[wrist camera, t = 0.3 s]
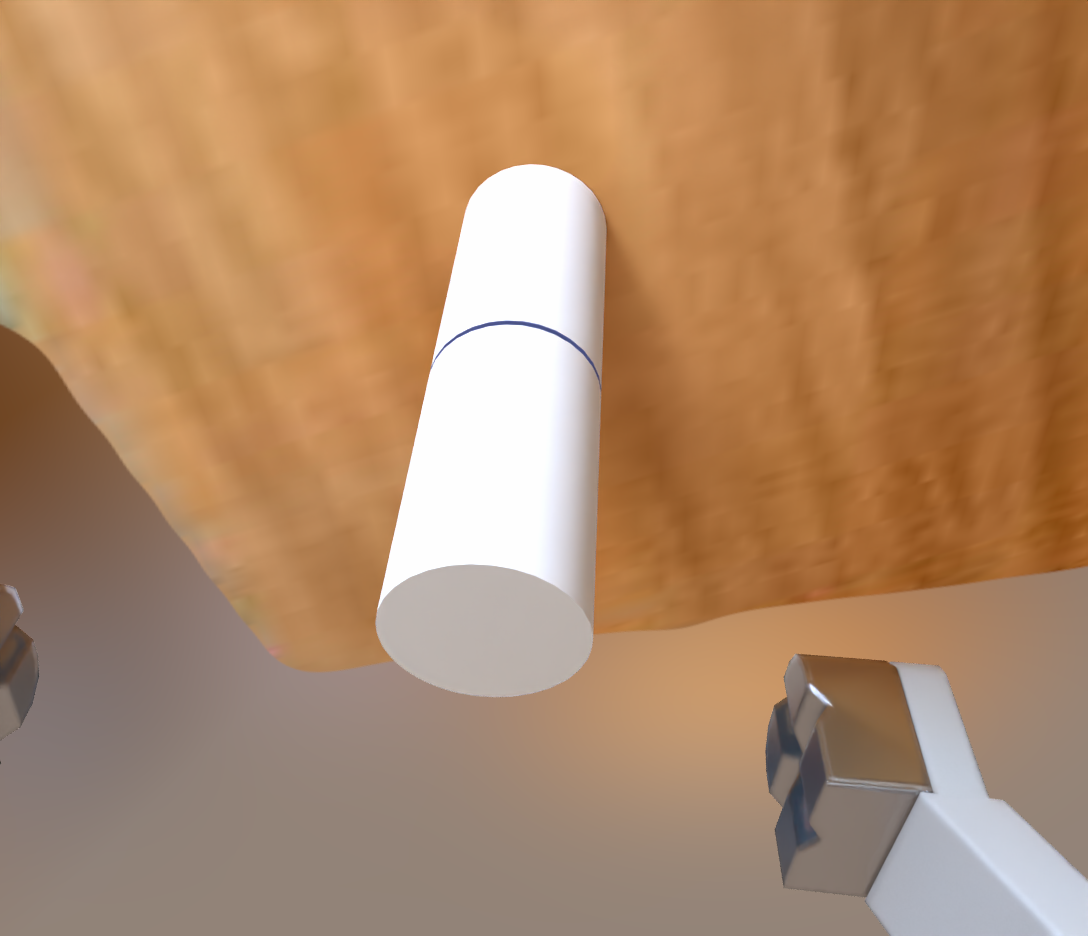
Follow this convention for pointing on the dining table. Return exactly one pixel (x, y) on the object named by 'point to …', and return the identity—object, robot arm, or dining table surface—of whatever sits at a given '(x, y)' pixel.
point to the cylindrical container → (507, 450)
